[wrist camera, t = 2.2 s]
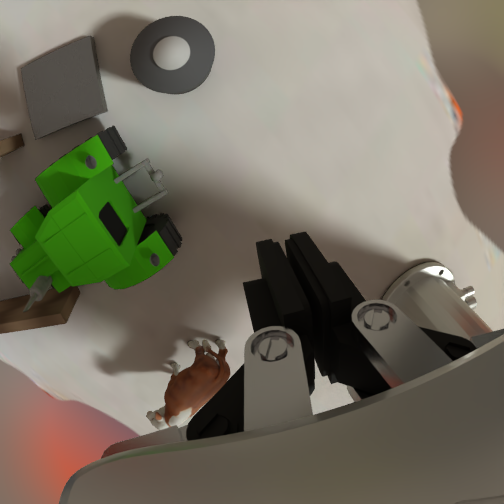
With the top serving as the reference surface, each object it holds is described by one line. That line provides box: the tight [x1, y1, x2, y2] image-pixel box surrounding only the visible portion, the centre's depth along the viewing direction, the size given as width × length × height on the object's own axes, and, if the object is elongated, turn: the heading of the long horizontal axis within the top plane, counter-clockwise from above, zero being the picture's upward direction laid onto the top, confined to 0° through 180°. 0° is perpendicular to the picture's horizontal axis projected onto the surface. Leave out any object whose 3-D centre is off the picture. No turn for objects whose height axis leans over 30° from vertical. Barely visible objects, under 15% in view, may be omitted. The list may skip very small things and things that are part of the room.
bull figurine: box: [146, 340, 230, 430], centre depth 32 cm, size 4×13×8 cm, turn 136°
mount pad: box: [21, 36, 108, 140], centre depth 20 cm, size 7×7×1 cm
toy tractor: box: [10, 126, 182, 312], centre depth 22 cm, size 11×16×10 cm
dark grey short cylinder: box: [130, 16, 215, 94], centre depth 19 cm, size 6×6×5 cm
